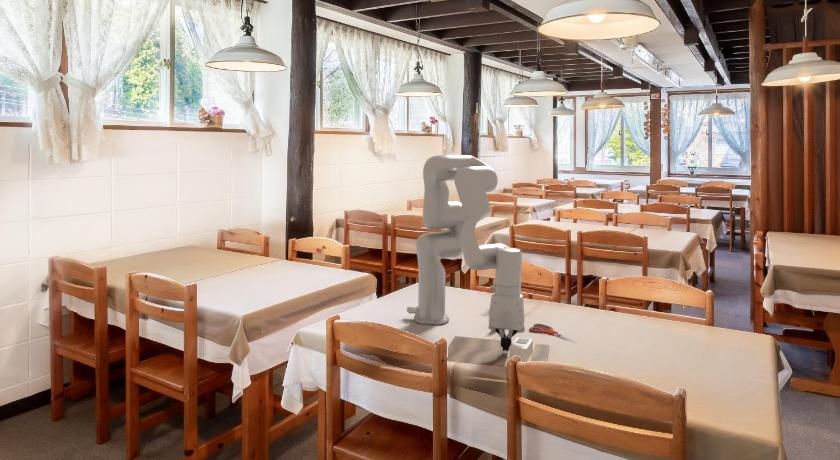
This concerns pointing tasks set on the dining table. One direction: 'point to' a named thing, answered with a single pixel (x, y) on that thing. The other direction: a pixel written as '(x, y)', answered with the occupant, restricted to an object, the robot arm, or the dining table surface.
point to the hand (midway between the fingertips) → (505, 349)
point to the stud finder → (521, 348)
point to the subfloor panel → (487, 351)
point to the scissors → (546, 331)
